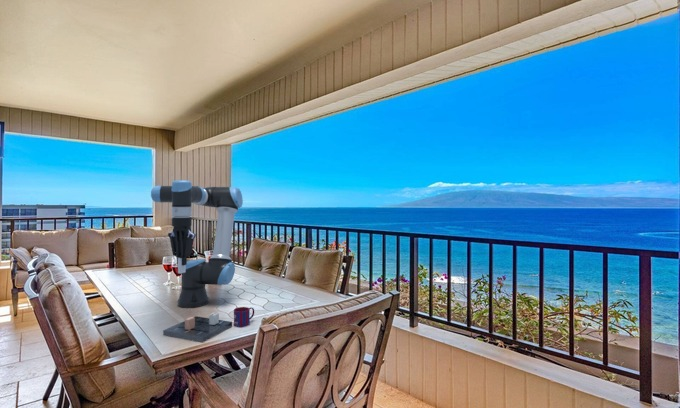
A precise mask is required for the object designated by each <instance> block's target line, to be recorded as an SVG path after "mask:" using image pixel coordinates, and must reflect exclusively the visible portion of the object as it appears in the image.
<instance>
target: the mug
mask: <svg viewBox="0 0 680 408" xmlns="http://www.w3.org/2000/svg"><path fill="white" fill-rule="evenodd" d="M250 310H252V312H251V311H250ZM250 312H251V315H250ZM254 316H255V308H254V307H248V306H238V307H236V308H234V309H233V326H234V327H235V328H243V327H244V328H245V327H247V326H249V325H250V320H251V319H252V318H253V317H254Z"/></svg>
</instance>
